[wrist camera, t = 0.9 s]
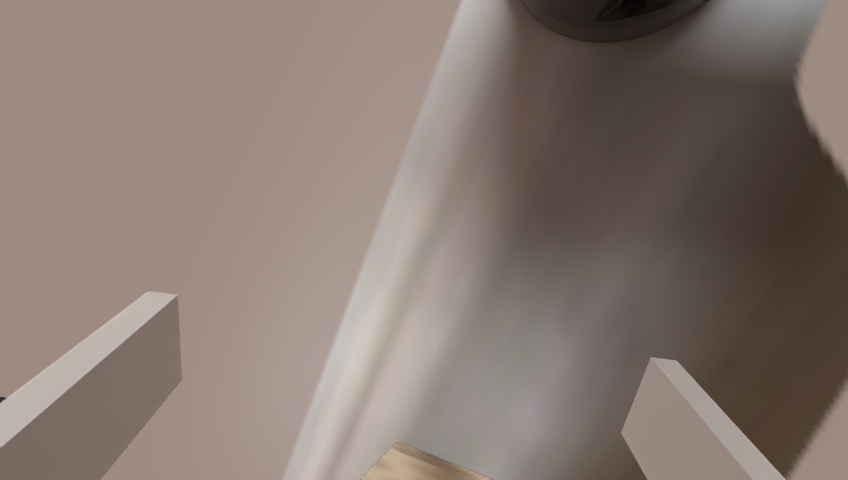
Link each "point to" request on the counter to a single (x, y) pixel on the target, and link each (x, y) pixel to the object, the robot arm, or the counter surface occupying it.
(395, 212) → the counter surface
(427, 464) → the offcut rack
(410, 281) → the counter surface
